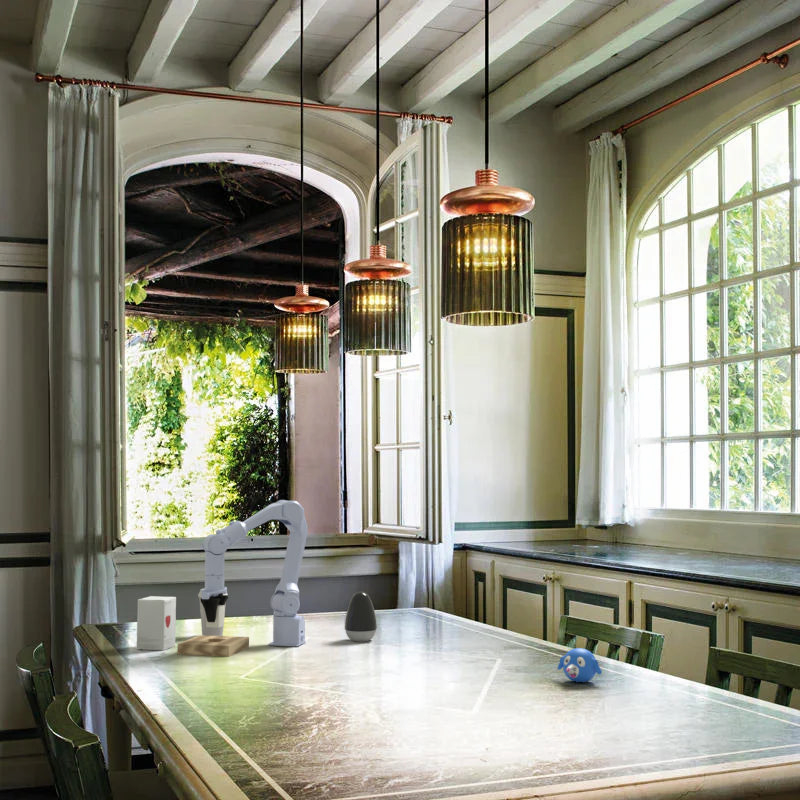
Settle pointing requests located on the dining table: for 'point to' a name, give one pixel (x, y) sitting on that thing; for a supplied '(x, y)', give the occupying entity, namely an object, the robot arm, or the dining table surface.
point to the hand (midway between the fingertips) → (214, 620)
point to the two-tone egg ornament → (360, 618)
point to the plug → (217, 618)
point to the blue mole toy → (579, 665)
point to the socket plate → (213, 645)
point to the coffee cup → (205, 630)
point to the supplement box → (156, 623)
